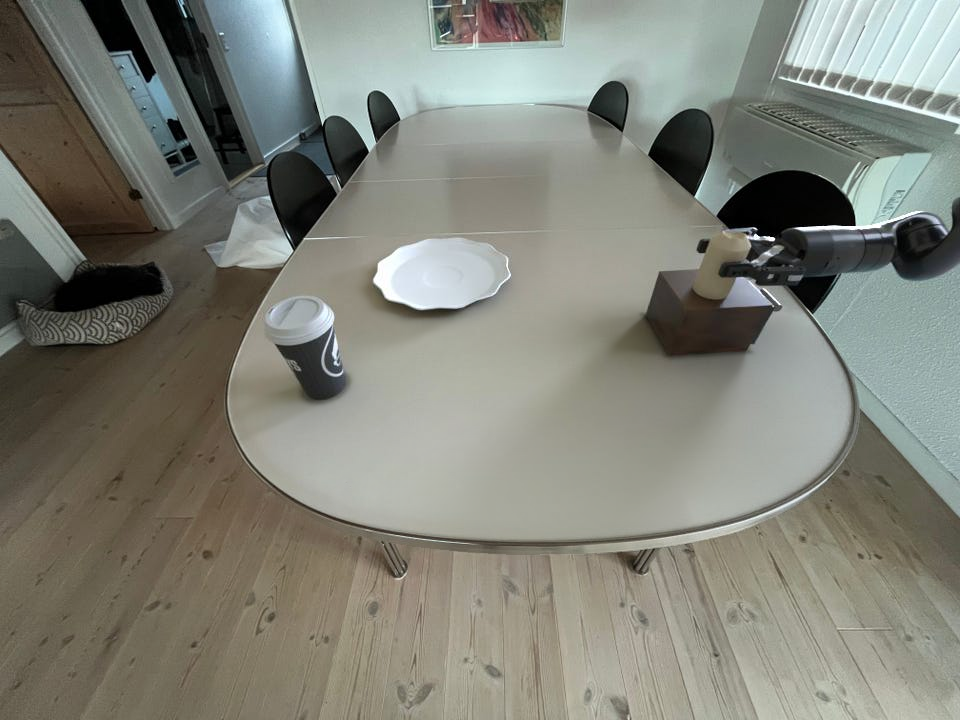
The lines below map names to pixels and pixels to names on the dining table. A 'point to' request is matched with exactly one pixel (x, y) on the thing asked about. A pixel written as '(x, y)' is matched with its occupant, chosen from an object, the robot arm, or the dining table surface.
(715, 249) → the candle
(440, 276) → the plate
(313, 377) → the coffee cup
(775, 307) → the drawer
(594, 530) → the dining table surface
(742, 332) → the cabinet
